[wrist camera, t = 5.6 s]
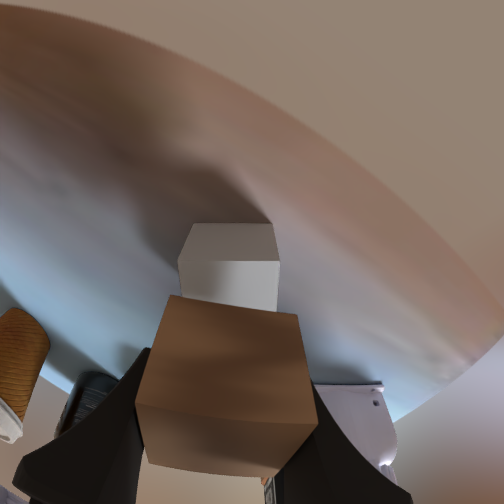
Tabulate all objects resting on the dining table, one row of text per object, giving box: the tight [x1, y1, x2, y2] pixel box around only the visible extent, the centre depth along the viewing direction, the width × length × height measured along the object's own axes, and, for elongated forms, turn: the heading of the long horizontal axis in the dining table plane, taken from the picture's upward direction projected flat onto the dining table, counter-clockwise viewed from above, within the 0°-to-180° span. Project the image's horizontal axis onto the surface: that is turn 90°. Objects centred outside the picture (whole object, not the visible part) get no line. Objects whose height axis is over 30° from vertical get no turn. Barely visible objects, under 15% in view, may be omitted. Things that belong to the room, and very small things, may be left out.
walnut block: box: [135, 295, 318, 478], centre depth 10 cm, size 5×5×5 cm
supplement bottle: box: [54, 372, 118, 439], centre depth 22 cm, size 7×7×12 cm
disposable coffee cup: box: [0, 308, 50, 444], centre depth 18 cm, size 10×10×12 cm
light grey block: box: [177, 223, 280, 312], centre depth 18 cm, size 5×5×5 cm
